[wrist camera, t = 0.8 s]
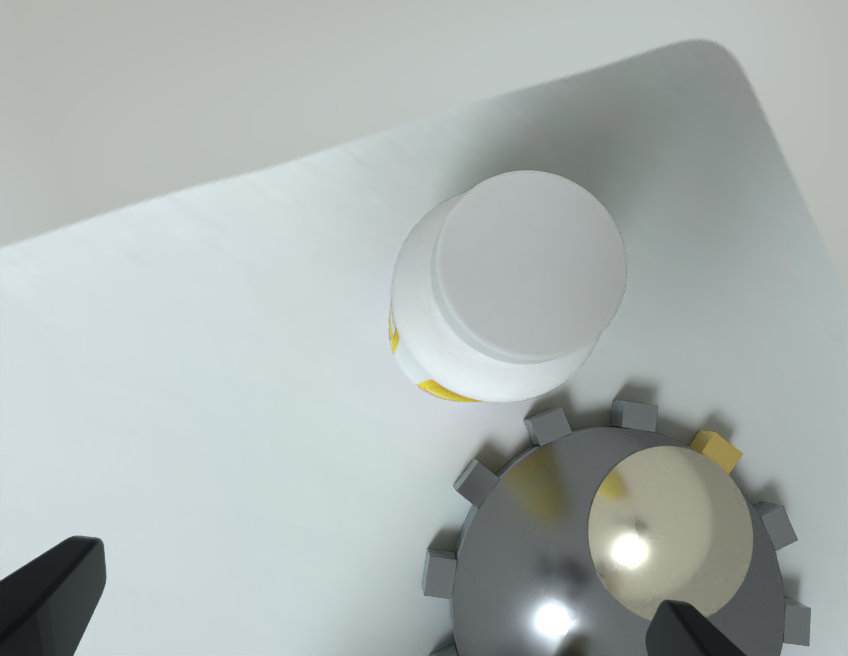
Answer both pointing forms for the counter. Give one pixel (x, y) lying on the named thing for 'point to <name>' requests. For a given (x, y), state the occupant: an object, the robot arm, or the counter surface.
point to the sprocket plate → (612, 545)
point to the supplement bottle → (505, 288)
